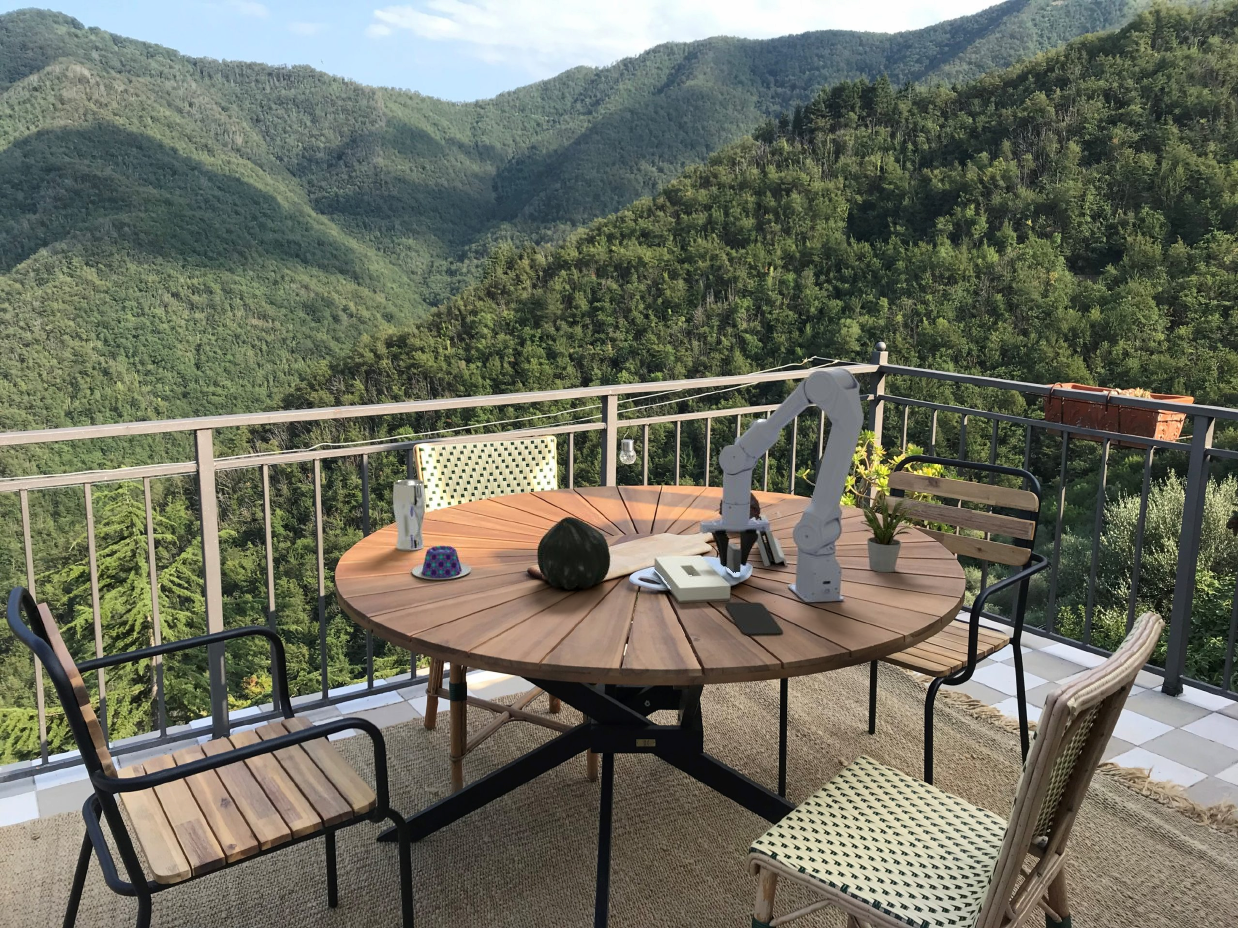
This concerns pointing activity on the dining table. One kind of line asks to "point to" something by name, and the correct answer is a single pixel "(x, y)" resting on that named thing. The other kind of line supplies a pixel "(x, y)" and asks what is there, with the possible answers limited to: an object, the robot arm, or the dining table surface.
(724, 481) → the robot arm
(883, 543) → the house plant
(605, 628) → the dining table surface
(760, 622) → the phone
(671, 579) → the post foot
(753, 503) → the pine cone
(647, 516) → the dining table surface
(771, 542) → the grey and black device
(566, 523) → the squash
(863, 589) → the dining table surface
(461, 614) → the dining table surface
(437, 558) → the pudding
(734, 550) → the metal block
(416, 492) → the beer glass
